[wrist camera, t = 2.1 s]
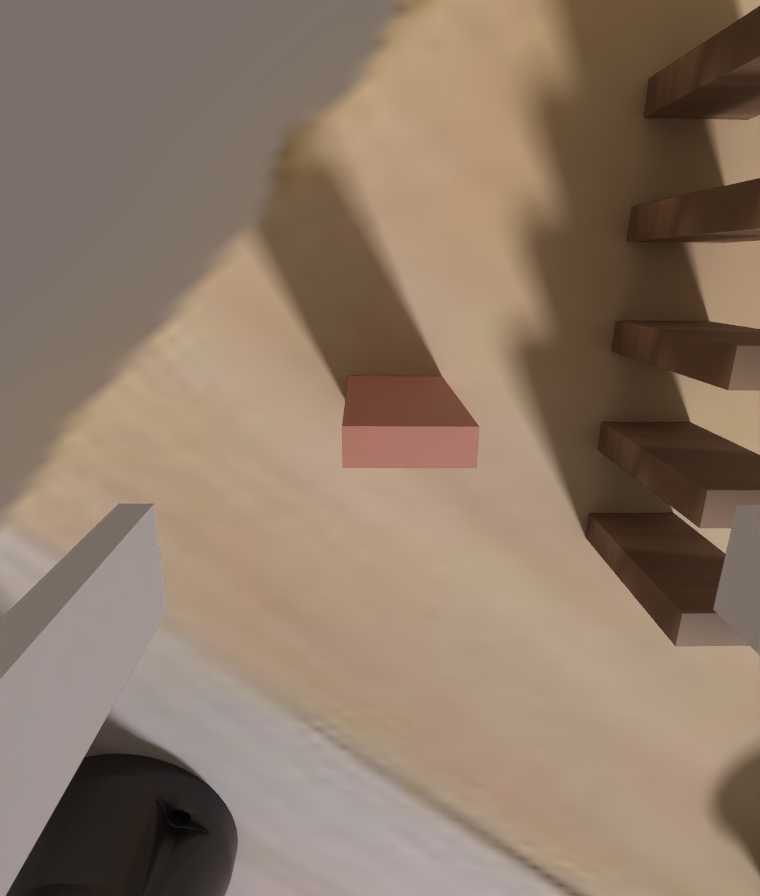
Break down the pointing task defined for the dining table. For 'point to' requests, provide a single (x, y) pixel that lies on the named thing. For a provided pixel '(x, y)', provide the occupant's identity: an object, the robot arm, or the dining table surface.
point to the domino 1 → (406, 424)
